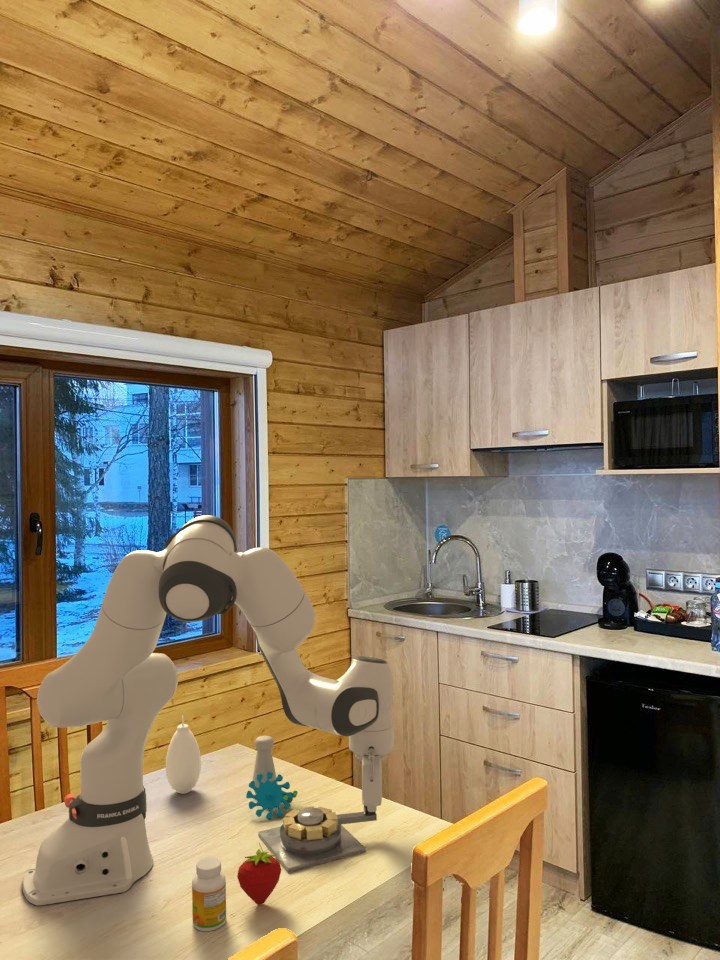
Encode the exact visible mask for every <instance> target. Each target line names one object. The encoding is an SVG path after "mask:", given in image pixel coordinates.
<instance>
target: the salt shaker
mask: <svg viewBox="0 0 720 960" xmlns="http://www.w3.org/2000/svg"><path fill="white" fill-rule="evenodd" d="M274 741H275V740H274V738H273V737H272V736H270V735H260V736H258V737H257V738H255V740H254V747H255V749H256V756H255V761H254V767H253V773H252V780H251V781H254V782H255V787H257V788H258V787H259V782H258V780H257V779H256V777H257V775H259V774H262V775H263V778H262V780H261V782H262V783H265V782H266V780H267V773H268V772H272V773H273V776H272V778H270V779H269V781H270V782H272V781H274V780H275V779H276V778H277V773H276V768H275V762H274V758H273V754H272V752H273V751H272V749H273V748H274V746H275V742H274ZM276 783H277V784H278V785H279V783H278V782H276ZM252 790H253V792H254V795H256V792H255V790H254V789H252Z"/></svg>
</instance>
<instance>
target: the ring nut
mask: <svg viewBox="0 0 720 960" xmlns="http://www.w3.org/2000/svg"><path fill="white" fill-rule="evenodd" d="M304 808H315V806H314V805H313V806H304V807H303V806H301V807H299V808H298V809H296V808H295V809H292V810H290V811H288V812H287V813H286V814H284V817H283V818H282V819H283V821H282V823H283V828H284V831H285V834H288V836H289V837H292V838H295V839H298V840H302V839H303V838H305V837H306V839H307V841H309V840H318V839H323V836H326V837H329V836H330V835H331V834H333V833H334V832H336V831H337V828H338V825H348V824H356V823H357V824H358V823H367V822H375V821H377V820H378V818H377V817H378V816H377V810H376V811H375V812H369V811H368V810H367V806H364V805H363V811H359V812H349V813H340V814H336V812H335V811H332V809H329V808H327V807H323V806H318V807H317V808H318V809H321V810H322V811H323V823H322V824H320V825H314V826H303V825H300V824H297V823H298V812H299V811H300V810H302V809H304Z"/></svg>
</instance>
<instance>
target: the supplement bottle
mask: <svg viewBox="0 0 720 960" xmlns="http://www.w3.org/2000/svg"><path fill="white" fill-rule="evenodd" d="M195 868H196V869H195V871H196V872H195V873H196V875H195V876H194V877H193V879H192V882H191V891H192V892H191V894H192V898H191V899H192V900H191V901H192V903H191V905H192V908H191V909H192V910H191V912H192V914H191V915H192V925H193V927H194V928H195V929H196V930H198V931H201V932H211V931H214V930H215V931H216V930H218V929H219V928H221V927H223V926H224V924H225V923H226V920H227V883H226V876H225V873H223V871H222V860H221V859H219V858H218V857H214V856H213V857H212V856H210V857H209V856H208V857H204V858H201V859H199V860H198V861H197V862H196V866H195Z"/></svg>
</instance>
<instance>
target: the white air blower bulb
mask: <svg viewBox="0 0 720 960" xmlns="http://www.w3.org/2000/svg"><path fill="white" fill-rule="evenodd" d="M184 717H185V716H184V714H182V715H181V724H179V725H178V726H176V731H175V732H174V733H173V735H172V738H171V740H170V742H169V745H168V748H167V753H166V758H165V773H166V779H167V781H168V782H167V783H168V784H169V786H170V787H171V789H172V790H174V791H175V792H176V793H179V794H181V795H185V794H188V793H189V792H191V791H192V789H194V787H196V785H197V783H198V781H199V778H200V775H201V769H202V760H201V757H202V756H201V752H200V747H199V745H198V742H197V738H196V737H195V736H194V735H195V734H193V732H192V730H191V729H190V726H189V725H188V724H186V723H185V719H184Z"/></svg>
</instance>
